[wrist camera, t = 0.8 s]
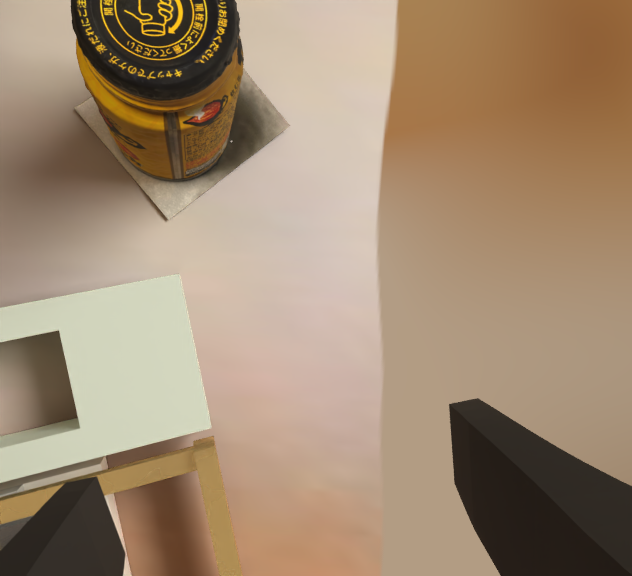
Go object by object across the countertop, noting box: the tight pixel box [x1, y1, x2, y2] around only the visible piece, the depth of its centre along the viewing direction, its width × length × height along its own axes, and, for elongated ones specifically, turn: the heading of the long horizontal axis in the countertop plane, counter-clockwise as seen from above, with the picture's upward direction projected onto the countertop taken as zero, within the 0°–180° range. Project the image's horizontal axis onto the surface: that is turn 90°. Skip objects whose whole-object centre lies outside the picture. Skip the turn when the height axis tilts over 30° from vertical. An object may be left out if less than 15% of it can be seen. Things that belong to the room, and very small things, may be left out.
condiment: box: [71, 0, 290, 220], centre depth 23 cm, size 7×8×12 cm
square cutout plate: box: [0, 274, 211, 483], centre depth 25 cm, size 8×16×3 cm, turn 103°
